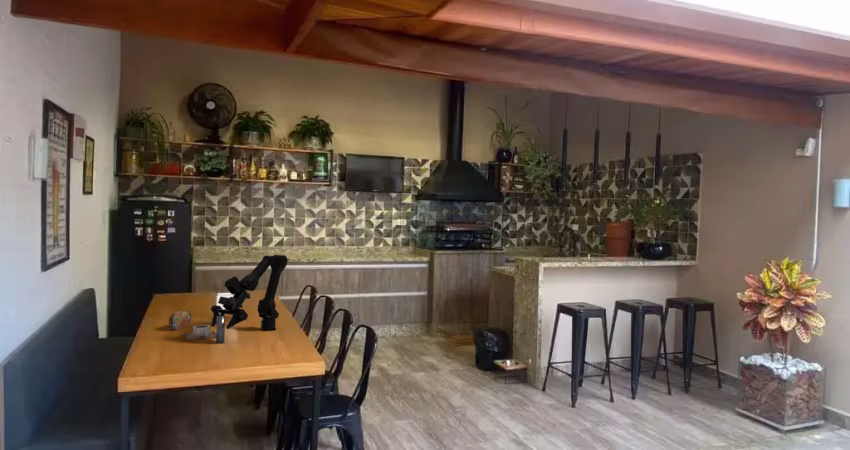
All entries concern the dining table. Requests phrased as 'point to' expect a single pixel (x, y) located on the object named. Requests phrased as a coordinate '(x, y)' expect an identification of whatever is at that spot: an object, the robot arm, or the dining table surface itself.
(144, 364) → the dining table surface
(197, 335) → the ring
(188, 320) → the tin
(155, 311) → the dining table surface
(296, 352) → the dining table surface
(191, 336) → the bracket plate
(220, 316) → the rail post
